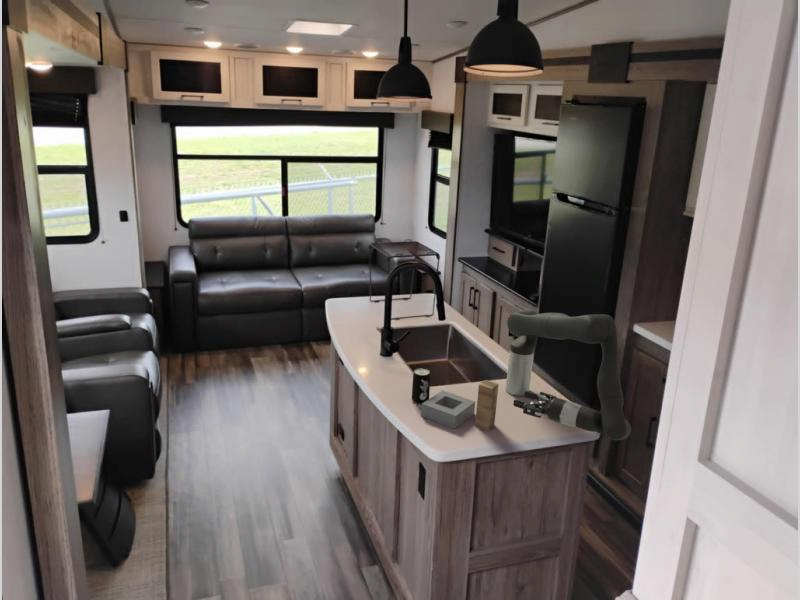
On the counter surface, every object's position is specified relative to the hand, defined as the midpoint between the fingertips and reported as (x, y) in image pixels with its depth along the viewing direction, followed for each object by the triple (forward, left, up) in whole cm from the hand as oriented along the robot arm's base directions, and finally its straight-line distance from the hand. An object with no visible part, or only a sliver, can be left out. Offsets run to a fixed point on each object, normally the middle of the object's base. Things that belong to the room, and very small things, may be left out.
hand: (519, 398), depth 209 cm
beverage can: (-1, -40, -15) cm, 42 cm away
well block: (+2, -26, -15) cm, 30 cm away
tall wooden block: (0, -12, -15) cm, 19 cm away
